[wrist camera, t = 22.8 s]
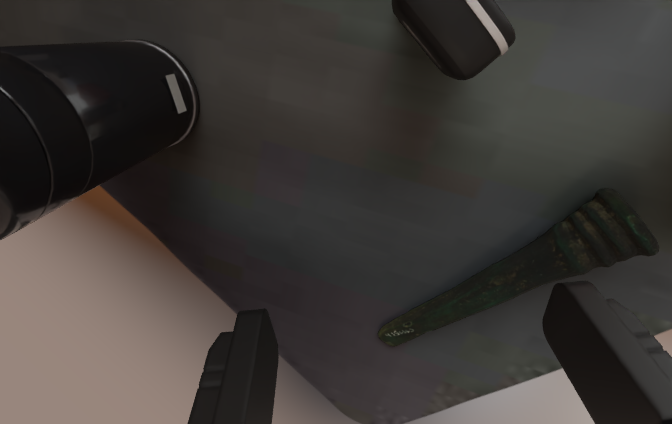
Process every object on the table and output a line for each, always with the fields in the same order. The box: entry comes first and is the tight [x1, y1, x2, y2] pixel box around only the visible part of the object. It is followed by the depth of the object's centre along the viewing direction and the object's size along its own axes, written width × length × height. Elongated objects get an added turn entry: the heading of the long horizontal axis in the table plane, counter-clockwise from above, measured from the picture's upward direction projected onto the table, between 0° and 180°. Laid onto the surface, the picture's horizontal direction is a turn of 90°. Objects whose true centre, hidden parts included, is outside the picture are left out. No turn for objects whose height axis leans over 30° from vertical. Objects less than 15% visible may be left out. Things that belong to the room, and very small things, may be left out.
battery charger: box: [392, 0, 515, 80], centre depth 24 cm, size 7×4×11 cm, turn 45°
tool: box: [378, 188, 659, 346], centre depth 36 cm, size 28×6×7 cm, turn 129°
